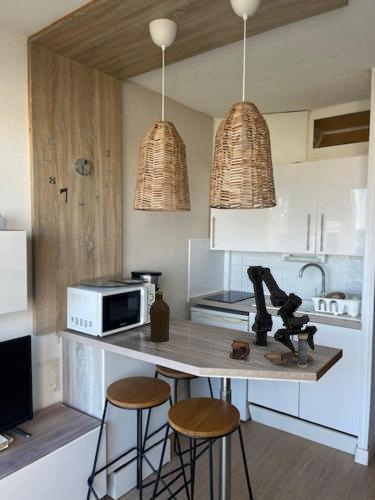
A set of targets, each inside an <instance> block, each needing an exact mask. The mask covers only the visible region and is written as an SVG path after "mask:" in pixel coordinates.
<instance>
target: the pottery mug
mask: <svg viewBox="0 0 375 500" xmlns="http://www.w3.org/2000/svg"><path fill="white" fill-rule="evenodd" d="M232 342H233V343H231V345H230V347H231V352H229V358H231V359H236V360H240V361H241V360H242V358H243V359H245V358H247V357H248V356H249V355H250V353H251V347H250V343H248V342H247V341H244V340H238V339H237V340H232Z"/></svg>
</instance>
